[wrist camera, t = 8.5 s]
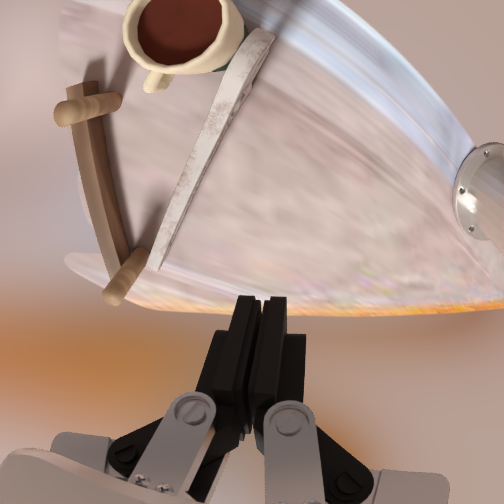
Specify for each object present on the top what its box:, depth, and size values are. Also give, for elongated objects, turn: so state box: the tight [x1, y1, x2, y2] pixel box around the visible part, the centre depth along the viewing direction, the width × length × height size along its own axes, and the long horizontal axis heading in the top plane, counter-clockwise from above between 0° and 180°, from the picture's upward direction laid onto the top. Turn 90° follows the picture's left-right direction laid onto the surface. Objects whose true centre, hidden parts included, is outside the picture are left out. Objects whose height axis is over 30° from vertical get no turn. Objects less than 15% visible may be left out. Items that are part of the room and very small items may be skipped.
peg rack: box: [54, 81, 150, 306], centre depth 30 cm, size 5×26×9 cm, turn 3°
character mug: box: [122, 0, 249, 93], centre depth 19 cm, size 11×7×13 cm, turn 147°
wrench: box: [146, 28, 275, 272], centre depth 29 cm, size 8×2×30 cm
